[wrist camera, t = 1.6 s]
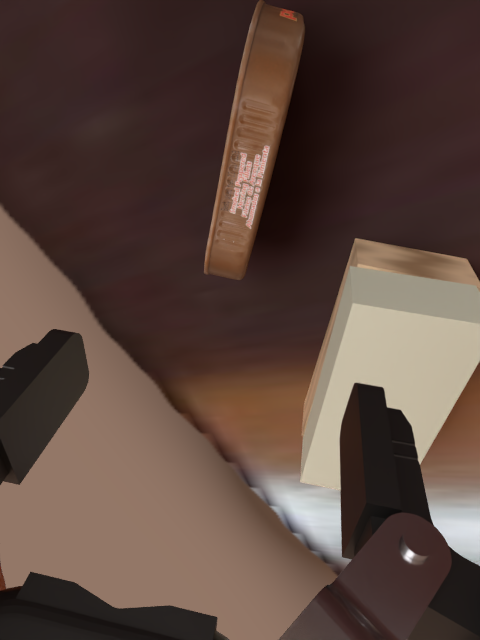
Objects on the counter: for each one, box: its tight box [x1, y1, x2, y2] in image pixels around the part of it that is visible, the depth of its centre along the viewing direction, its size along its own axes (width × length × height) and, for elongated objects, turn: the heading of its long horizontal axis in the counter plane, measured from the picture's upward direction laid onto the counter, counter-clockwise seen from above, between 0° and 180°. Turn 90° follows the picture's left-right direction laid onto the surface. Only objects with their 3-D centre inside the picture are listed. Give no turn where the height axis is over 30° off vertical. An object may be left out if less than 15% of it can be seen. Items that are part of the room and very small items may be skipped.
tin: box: [204, 0, 305, 280], centre depth 24 cm, size 15×3×8 cm, turn 168°
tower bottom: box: [302, 238, 480, 436], centre depth 34 cm, size 8×18×4 cm, turn 173°
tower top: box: [300, 266, 480, 490], centre depth 30 cm, size 8×18×4 cm, turn 175°
